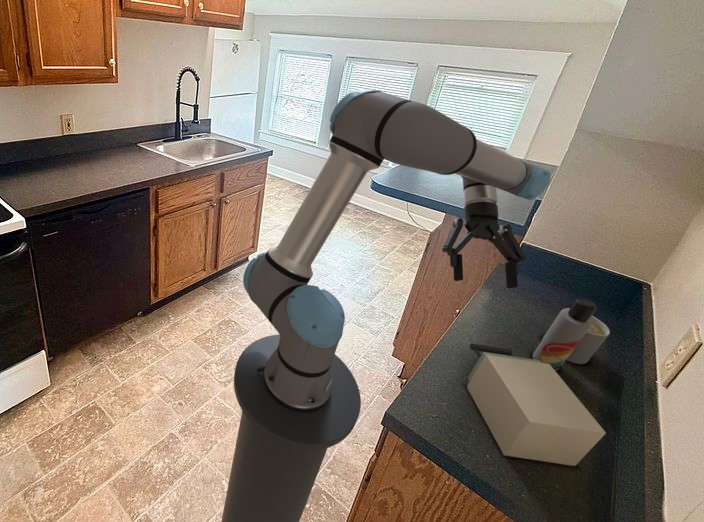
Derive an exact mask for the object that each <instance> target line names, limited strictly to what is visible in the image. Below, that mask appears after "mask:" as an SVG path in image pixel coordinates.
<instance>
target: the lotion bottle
mask: <svg viewBox="0 0 704 522" xmlns="http://www.w3.org/2000/svg"><path fill="white" fill-rule="evenodd" d="M569 308H570V310H564V311H562V312H561V311H560V312H561V314H560V315H559V314H558V315H559V316H558V315H557V316H558V318H557V317H556V318H557V319H556V318H555V319H556V321H555V320H554V321H555V322H554V321H553V322H554V324H553V325H552V324H551V325H552V327H551V328H550V327H549V328H550V330H549V331H548V330H547V331H548V332H547V331H546V332H547V334H546V333H545V334H546V335H545V334H544V335H545V337H544V336H543V337H544V338H543V337H542V340H541V341H540V342H539V344H538V345H537V347H536V348H535V350H534V351H533V354H532V359H534V360H540V362H541V363H546V364H550V365H551V367H552V368H553V369H554V370H555V371H556V372H557V371H558V370H559V369H560V368H561V367H562V366H563V364H564V363H565V362H566V361H567V360H566V359H567V358H568V356H569V355H570V354H571V352H572V351H573V350H574V348H575V347H576V346H577V344H578V343H579V342H580V340H581V339H582V338H583V336H584V335H585V334H586V332H587V331H588V330H589V328H590V327H591V323H590V321H589V319H590V317H591V316H594V314H595V312H596V311H597V309H598V308H597V305H596V303H594V302H592V301H591V300H589V299H587V298H577V299H576V300H575V301H574V302H573V304H572V305H571V306H570V307H569Z"/></svg>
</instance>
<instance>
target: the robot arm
mask: <svg viewBox="0 0 704 522" xmlns="http://www.w3.org/2000/svg"><path fill="white" fill-rule="evenodd" d="M329 123H330V124H329V130H330V133H331V134H332V135H331V138H330V139H329V141H328V147H329V150H330V153H329V155H328V157H327V159H326V161H325V162H324V164H323V166H322V168H321V169H320V171H319V173H318V175H317V176H316V178H315V180H314V181H313V183H312V185H311V187H310V189H309V191H308V192H307V194H306V196H305V198H304V199H303V200H302V203H301V204H300V206H299V208H298V209H297V212H296V213H295V214H294V217H293V219H292V220H291V222H290V224H289V226H288V227H287V229H286V231H285V233H284V235H283V236H282V238H281V240H280V241H279V243H278V245H276V246H272V247H269V248H268V249H267V251H264V252H261V253H259V254H257V255H256V257H253V258H251V260H250V261H249V262H248V264H247V266H246V267H245V270H244V272H243V276H242V277H243V278H242V284H243V288H244V290H245V292H246V293H247V295H248V297H249V299H250V300H251V302H252V303H253V304H254V305H256V307H257V308H258V309H259V310H260V312H261V313H262V314H263V315H264V317H265V318H266V319H267V320H268V322H269V323H270V324H271V325H272V326H273V328H274V329H275V330H276V332H277V333H278V335H280V340H279V345H278V348H277V349H276V350H275V351H274V353H273V354H272V355H271V356H270V358H269V359H268V360H267V362H266V365H265V367H261V368H257V371H258V372H261V371H264V383H265V386H266V389H267V390H268V392H269V394H270V395H271V396H272V397H273V398H274V399H275V400H276V401H277V402H278V403H279V404H281V405H282V406H284V407H286V408H288V409H290V410H293V411H297V412H313V411H316V410H319V409H320V408H322V407H323V406H324V405H325V404H326V403H327V402H328V400H329V398H330V395H331V392H332V386H333V384H332V376H331V368H330V366H331V363H332V361H333V358H334V355H336V352H337V349H338V346H339V342H340V340H341V339H342V337H343V333H344V327H345V322H346V315H345V311H344V307H343V306H342V304H341V302H340V300H339V299H338V298H337V297H336V296H335V295H334V294H333V293H331V292H330V291H329V290H327V289H325V288H322V289H321V288H320V287H319V286H317V285H312V284H309V282H310V281H311V279H312V278H313V276H314V273H313V268H312V264H313V263H314V261H315V259H316V258H317V256H318V254H319V252H320V251H321V250H322V247H324V245H325V243H326V241H327V240H328V238H329V236H330V234H332V231H333V230H334V228H335V226H336V225H337V223H338V221H339V220H340V218H341V217H342V215H343V213H344V211H345V210H346V208H347V206H348V205H349V203H350V201H352V198H353V196H354V195H355V194H356V192H357V190H358V188H359V186H360V185H361V183H362V182H363V180H364V178H365V177H366V176H367V173H368V172H370V171H373V170H377V169H380V167H381V165H382V163H383V162H384V160H385V161H388V162H390V163H393V164H396V165H400V166H403V167H406V168H411V169H416V170H421V171H427V172H430V173H433V174H437V175H441V176H451V175H457V176H460V177H461V179H462V189H463V190H462V191H463V205H464V207H463V211H464V213H463V214H464V219H465V220H464V219H463V218H462V217H458V218H456V219H454V220H453V221H452V228H451V230H450V232H449V234H448V236H447V237H446V240H445V242H444V243H443V246H442V247H441V251H442V252H443V253H446V255H447V256H449V264H450V267H451V268H453V282H458V281H463V280H464V268H463V267H464V266H463V254H461V253H460V252H461V251H462V250H463V249H464V248H465V247H466V245H468V244H469V242H470V241H471V240H472V239H476V240H478V239H481V240H484V241H488V242H489V243H492V245H493V246H494V247H495V248H496V249H497V250H498V252H499V253H500V254H501V255H502V257H504V259H505V260H506V261H507V262H505V263H504V267H505V268H504V269H505V280H506V288H507V289H514V288H519V285H518V276H519V275H520V268H519V267H520V266H519V264H520V263H519V262H523V261H526V260H527V256H526V255H525V252H524V251H523V249H522V248H521V245H520V244H519V242H518V240H517V239H516V237H515V234H514V233H513V230H512V226H511V224H510V223H507V224H505V225H504V224H499V221H498V220H499V206H498V193H497V189H498V190H501V191H504V192H507V193H509V194H511V195H514V196H516V197H517V198H523V199H524V200H528V201H530V200H531V201H532V200H536V199H537V198H539V196H541V195H542V194H543V193H544V192H545V190H546V189H547V187H548V186H549V183H550V182H551V172H550V171H549V170H548V169H545V168H543V167H540V166H539V165H535V164H532V163H529V162H525V161H523V160H521V159H519V158H517V157H515V156H513V155H511V154H509V153H507V152H504V151H503V150H501V149H499V148H497V147H494V146H492V145H490V144H487V143H486V142H484V141H482V140H479V139H477V136H476V134H475V133H474V132H473V130H471V129H470V128H468V127H467V126H464V125H463V124H461V123H459V122H458V121H456V120H455V119H453V118H451V117H450V116H448V115H446V114H444V113H442V112H441V111H439V110H437V109H435V108H434V107H432V106H429V105H427V104H425V103H423V102H422V103H421V102H419V101H415V100H410V99H407V98H405V97H404V98H403V97H400V96H397V95H393V94H392V93H388V92H384V91H382V90H376V89H369V88H368V89H367V88H360V89H356V90H354V91H351V92H349V93H348V94H346V95H344V96H343V97H342V98H341V99H340V100H339V101H338V103H337V104H336V105H335V107H334V109H333V110H332V112H331V115H330V119H329ZM464 227H465V229H466V232H465V233H464V234H463V236H462V237H461V238H460V240H458V242H457V239H458V237H459V235H460V233H461V231H462V230H463V228H464ZM455 243H456V244H455Z"/></svg>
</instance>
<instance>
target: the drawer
mask: <svg viewBox="0 0 704 522" xmlns="http://www.w3.org/2000/svg"><path fill="white" fill-rule="evenodd" d="M469 348H470V350H471V351H474V353H475V354H476V357H478V360H477V361H476V363H475V365H474V367H473V368H472V370H471V372H470V373H469V375H468V376H467V381H468V383H469V382H470V381H471V379H472V377H473V376H474V374H475V372H476V371H477V369H478V367H479V366H480V364H481V362H482V361H483V359H484V357H485V356H486V355H490V356H497V357H504V358H511V359H518V360H525V361H532V362H539V363H541V362H540V360H534V359H533V358H527V357H520V356H514V355H513V351H512V349H511V348H510V347H509V348H508V347H504V346H503V347H502V346H495V345H488V344H482V343H481V344H480V343H473V342H471V343H470V344H469ZM481 352H482V353H481Z"/></svg>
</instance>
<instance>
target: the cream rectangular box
mask: <svg viewBox="0 0 704 522" xmlns="http://www.w3.org/2000/svg"><path fill="white" fill-rule="evenodd" d="M466 388H467V390H468V393H469V394H470V396H471V397H472V399H473V401H474V403H475V405H476V407H477V408H478V410H479V412H480V414H481V416H482V418H483V419H484V422H485V423H486V425H487V427H488V429H489V431H490V432H491V434H492V436H493V438H494V440H495V442H496V443H497V445H498V447H499V449H500V451H501V453H502V455H503V456H504V457H505V456H506V457H512V458H519V459H525V460H532V461H533V460H534V461H538V462H546V463H552V464H558V465H565V466H573V467H576V466H577V465H578V464H579V463H580V462H581V460H582V459H584V457H585V456H586V455H587V454H588V453H590V451H591V450H592V449H593V448H594V447H595V446H596V444H597V443H598V442H599V441H600V440H601V439H602V438H603V437H604V436H605V435H606V434H607V432H606V431H605V429H603V428H602V426H601V425H600V424H599V423H598V421H597V420H596V419H595V418H594V416H593V415H592V414H591V413H590V412H589V410H588V409H587V408H586V407H585V405H584V404H583V403H582V401H580V399H579V398H578V397H577V396H576V395H575V393H574V392H573V391H572V389H570V387H569V386H568V385H567V384H566V382H565V381H564V380H563V379H562V378H561V376H560V375H559V373H558V372H557V370H556V371H555V370H554V369H553V368H552V367H551V365H550V364H546V363H539V362H532V361H525V360H518V359H511V358H504V357H497V356H490V355H486V356H485V357H484V359H483V361H482V362H481V364H480V366H479V367H478V369H477V371H476V372H475V374H474V376H473V377H472V379H471V381H470V382H469V381H468V384H467V386H466Z"/></svg>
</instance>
